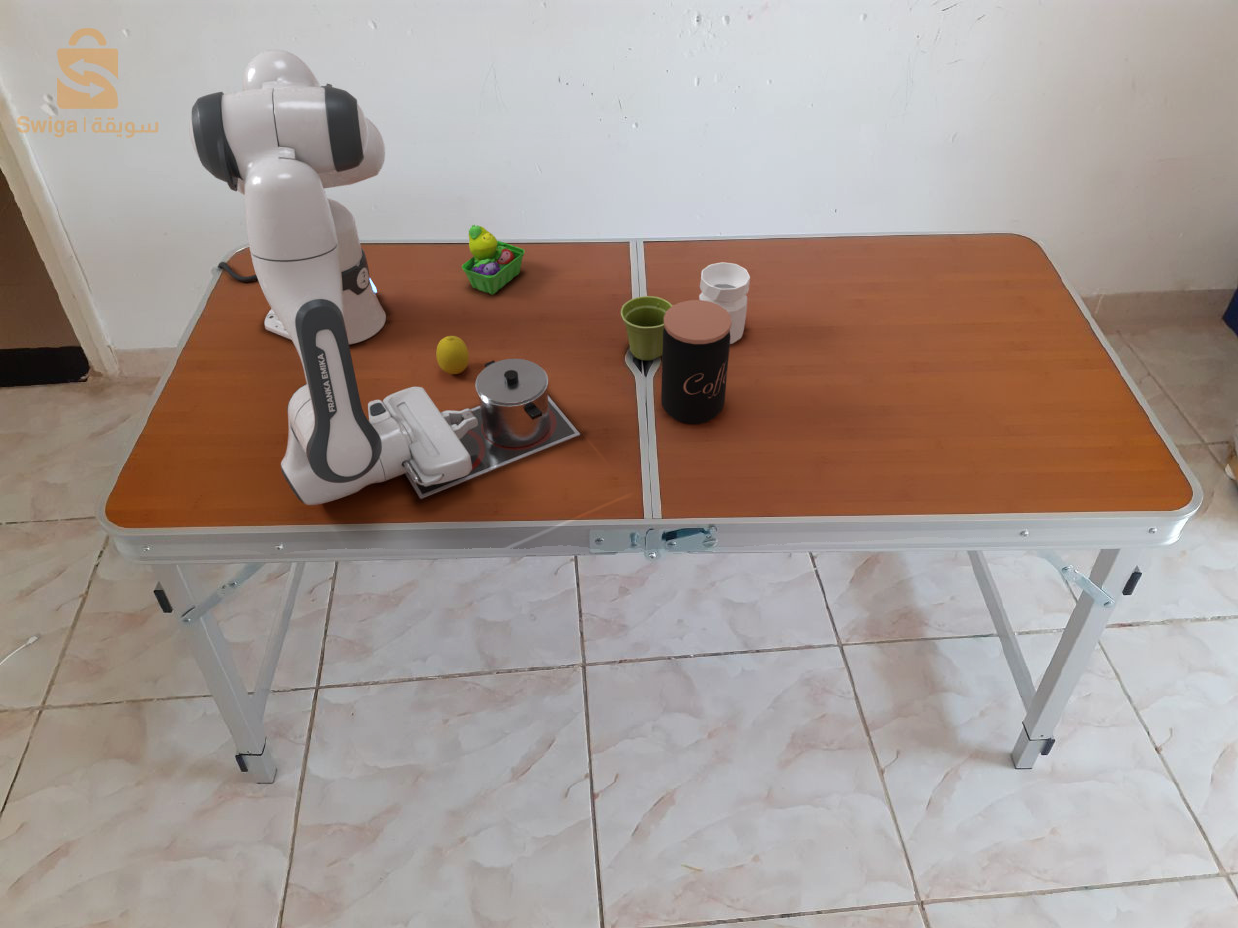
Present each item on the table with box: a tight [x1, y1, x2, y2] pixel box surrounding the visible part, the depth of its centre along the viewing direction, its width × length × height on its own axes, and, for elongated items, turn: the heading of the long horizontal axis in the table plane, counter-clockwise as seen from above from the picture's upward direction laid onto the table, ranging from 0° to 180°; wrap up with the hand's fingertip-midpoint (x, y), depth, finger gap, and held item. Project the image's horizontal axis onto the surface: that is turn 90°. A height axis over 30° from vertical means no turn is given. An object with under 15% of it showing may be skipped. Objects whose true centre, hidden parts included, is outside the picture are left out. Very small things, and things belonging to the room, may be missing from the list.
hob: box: [405, 395, 581, 500], centre depth 156 cm, size 28×15×1 cm, turn 120°
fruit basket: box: [461, 224, 526, 296], centre depth 186 cm, size 11×9×11 cm
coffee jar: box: [660, 299, 732, 426], centre depth 156 cm, size 11×11×18 cm
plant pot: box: [620, 295, 673, 361], centre depth 170 cm, size 9×9×9 cm
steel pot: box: [474, 358, 550, 447], centre depth 155 cm, size 12×16×11 cm
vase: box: [698, 261, 751, 345], centre depth 173 cm, size 9×9×12 cm
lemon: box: [435, 335, 470, 375], centre depth 166 cm, size 6×6×8 cm
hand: (474, 416), depth 152 cm, fingers closed
